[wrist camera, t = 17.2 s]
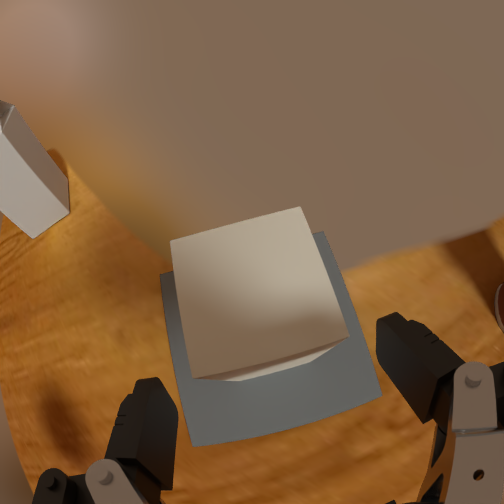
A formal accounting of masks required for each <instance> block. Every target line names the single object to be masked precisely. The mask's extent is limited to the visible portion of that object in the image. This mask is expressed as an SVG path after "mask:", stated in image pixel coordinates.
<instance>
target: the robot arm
mask: <svg viewBox="0 0 504 504" xmlns="http://www.w3.org/2000/svg"><path fill="white" fill-rule="evenodd" d="M376 355H377V359H378V362H379V364H380V365H381V367H382V368H383V370H384V371H385V372H386V374H387V375H388V376H389V378H390V379H391V380H392V382H393V383H394V384H395V386H396V387H397V389H398V390H399V391H400V393H401V394H402V395H403V397H404V398H405V400H406V401H407V402H408V404H409V405H410V407H411V408H412V409H413V411H414V412H415V414H416V415H417V416H418V418H419V419H420V421H421V422H422V423H423V424H424V423H426V422H428V421H430V420H431V419H434V420H435V422H436V426H435V431H434V438H433V444H432V450H431V455H430V460H429V465H428V469H427V473H426V476H425V478H424V481H423V483H422V485H421V488H420V491H419V494H418V497H417V501H416V502H410V503H404V504H501V500H502V493H503V484H504V362H501V363H499V364H496V365H493V366H490V367H488V366H486V365H485V364H483V363H480V362H468V363H466V362H464V361H463V360H462V359H461V358H460V357H459V356H458V355H457V354H456V353H455V352H454V351H453V350H452V349H450V348H449V347H448V346H447V345H446V344H445V343H444V342H443V341H442V340H439V338H438V337H437V336H436V335H435V334H433V333H432V331H431V330H429V329H428V328H427V327H426V326H425V325H424V324H422V323H419V322H417V321H414V320H409V321H407V320H406V319H405V318H404V317H402V316H401V315H400V314H399V313H398V312H394V313H392V314H389V315H387V316H384V317H382V318H379V319H378V320H377V323H376ZM117 416H118V417H116V420H115V426H114V427H113V430H112V433H111V437H110V440H109V444H108V447H107V451H106V454H105V458H104V459H102V460H98V461H96V462H95V463H93V464H92V465H91V466H90V467H89V468H88V470H87V472H86V474H81V475H75V476H69V477H68V476H67V475H66V474H65V473H63V472H62V471H61V470H59V469H57V468H51V469H48V470H46V471H45V472H43V473H42V475H41V476H40V478H39V480H38V484H37V487H36V490H35V494H34V498H33V502H32V504H165V502H164V501H163V500H162V499H161V498H160V494H161V490H172V489H173V474H174V461H175V449H176V438H177V428H178V411H177V408H176V405H175V403H174V402H173V400H172V398H171V397H170V395H169V394H168V392H167V390H166V389H165V387H164V385H163V384H162V382H161V380H160V379H159V378H158V377H153V378H146V379H139V380H137V381H136V384H135V387H134V390H133V394H128V395H127V397H126V398H125V399H124V400H123V402H122V403H121V405H120V408H119V411H118V414H117ZM386 504H396V502H395V500H393V501H390V502H388V503H386Z"/></svg>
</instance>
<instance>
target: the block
mask: <svg viewBox="0 0 504 504" xmlns="http://www.w3.org/2000/svg"><path fill="white" fill-rule="evenodd" d="M170 245H171V254H172V262H173V270H174V278H175V285H176V292H177V298H178V305H179V311H180V317H181V323H182V328H183V334H184V339H185V345H186V350H187V355H188V360H189V365H190V369H191V374H192V378H194V379H206V380H223V381H242V380H246V379H251V378H255V377H259V376H263V375H267V374H271V373H274V372H278V371H282V370H285V369H289V368H292V367H296V366H299V365H302V364H306V363H309V362H311V361H313V360H314V359H316V358H318V357H319V356H321V355H322V354H324V353H325V352H327V351H328V350H330V349H331V348H333V347H334V346H336V345H337V344H339V343H340V342H342V341H343V340H345V339H346V338H348V337H349V333H348V330H347V327H346V324H345V321H344V318H343V315H342V312H341V309H340V307H339V304H338V301H337V298H336V295H335V293H334V290H333V287H332V285H331V282H330V279H329V277H328V274H327V271H326V269H325V266H324V263H323V261H322V258H321V256H320V253H319V251H318V248H317V246H316V243H315V241H314V238H313V236H312V233H311V231H310V228H309V226H308V224H307V221H306V219H305V216H304V214H303V212H302V209H301V207H296V208H292V209H288V210H284V211H280V212H276V213H272V214H268V215H264V216H260V217H256V218H253V219H248V220H245V221H241V222H237V223H233V224H229V225H225V226H222V227H218V228H214V229H211V230H207V231H203V232H200V233H196V234H192V235H189V236H185V237H182V238H178V239H175V240H171V241H170Z"/></svg>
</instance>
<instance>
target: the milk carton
mask: <svg viewBox="0 0 504 504" xmlns="http://www.w3.org/2000/svg"><path fill="white" fill-rule="evenodd" d="M0 211H1V212H2V213H3V214H5V215H6V216H7V217H8V218H9V219H10V220H11V221H12V222H13V223H15V224H16V225H17V226H18V227H19V228H20V229H22V230H23V231H24V232H25V233H26V234H27V235H29V236H30V237H31V238H32V239H34V238H35V237H37V236H38V235H40V234H41V233H42V232H44V231H45V230H46V229H48V228H49V227H50V226H52V225H53V224H55V223H56V222H57V221H59V220H60V219H62V218H63V217H65V216H66V215H67V214H69V213H70V211H69V194H68V179H67V177H66V176H65V175H64V174H63V172H62V171H61V170H60V169H59V167H58V166H57V165H56V163H55V162H54V161H53V160H52V158H51V157H50V156H49V154H48V153H47V152H46V150H45V149H44V148H43V146H42V145H41V143H40V142H39V141H38V139H37V138H36V136H35V135H34V134H33V132H32V131H31V129H30V128H29V126H28V125H27V124H26V122H25V121H24V119H23V118H22V116H21V115H20V113H19V112H18V110H17V109H16V107H15V105H12V104H9V103H7V102H4V101H1V100H0Z"/></svg>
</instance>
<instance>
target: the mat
mask: <svg viewBox="0 0 504 504" xmlns="http://www.w3.org/2000/svg"><path fill="white" fill-rule="evenodd" d="M312 236H313V238H314V241H315V243H316V246H317V248H318V251H319V253H320V256H321V258H322V261H323V263H324V266H325V269H326V271H327V274H328V277H329V279H330V282H331V285H332V287H333V290H334V293H335V295H336V298H337V301H338V304H339V307H340V309H341V312H342V315H343V318H344V321H345V324H346V327H347V330H348V333H349V337H348V338H346V339H345V340H343V341H342V342H340V343H339V344H337V345H336V346H334V347H333V348H331V349H330V350H328V351H327V352H325V353H324V354H322V355H321V356H319V357H318V358H316V359H314V360H313V361H311V362H309V363H306V364H302V365H299V366H296V367H292V368H289V369H285V370H282V371H278V372H274V373H271V374H267V375H263V376H259V377H255V378H251V379H246V380H242V381H223V380H206V379H194V378H192V374H191V369H190V365H189V360H188V355H187V350H186V345H185V339H184V334H183V328H182V323H181V317H180V311H179V305H178V298H177V292H176V285H175V278H174V271H171V272H167V273H164V274H160V281H161V290H162V298H163V305H164V312H165V319H166V326H167V332H168V338H169V344H170V349H171V355H172V360H173V365H174V371H175V375H176V380H177V385H178V390H179V394H180V399H181V403H182V407H183V411H184V415H185V419H186V423H187V427H188V431H189V435H190V438H191V442H192V445H193V447H196V446H204V445H212V444H219V443H226V442H232V441H237V440H243V439H248V438H253V437H258V436H262V435H267V434H271V433H275V432H279V431H283V430H287V429H291V428H294V427H298V426H301V425H305V424H308V423H311V422H314V421H318V420H321V419H324V418H327V417H330V416H333V415H335V414H338V413H341V412H344V411H346V410H349V409H352V408H354V407H357V406H359V405H362V404H364V403H367V402H369V401H371V400H374V399H376V398H378V397H381V396H382V393H381V389H380V386H379V382H378V379H377V376H376V372H375V369H374V366H373V363H372V359H371V356H370V353H369V350H368V347H367V344H366V341H365V338H364V335H363V332H362V329H361V326H360V324H359V321H358V318H357V315H356V312H355V310H354V307H353V304H352V301H351V299H350V296H349V293H348V291H347V288H346V285H345V283H344V280H343V278H342V275H341V273H340V270H339V268H338V265H337V263H336V260H335V258H334V255H333V253H332V250H331V248H330V246H329V243H328V241H327V239H326V236H325V234H324V232H323V231H322V232H319V233H315V234H312Z"/></svg>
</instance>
